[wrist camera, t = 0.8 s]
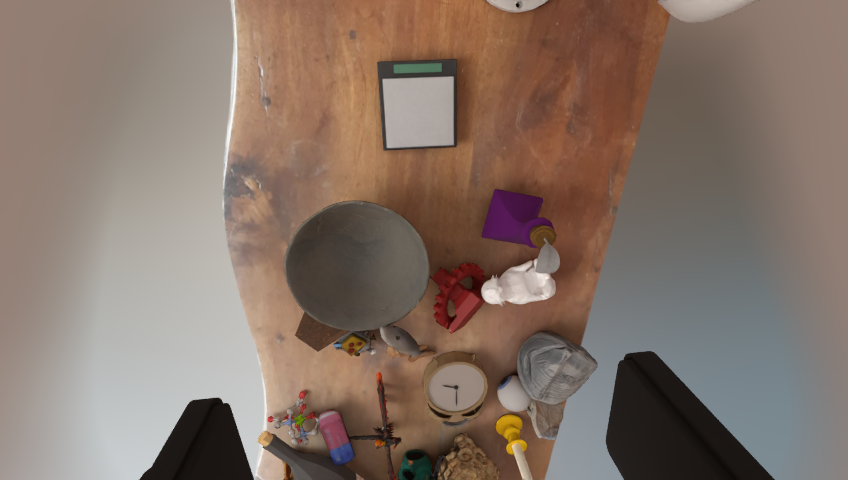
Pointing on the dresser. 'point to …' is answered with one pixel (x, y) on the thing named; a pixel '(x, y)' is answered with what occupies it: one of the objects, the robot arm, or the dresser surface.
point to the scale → (418, 104)
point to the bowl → (357, 266)
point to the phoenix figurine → (383, 430)
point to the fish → (402, 343)
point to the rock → (545, 418)
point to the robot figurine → (333, 337)
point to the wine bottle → (306, 461)
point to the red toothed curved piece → (458, 295)
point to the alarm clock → (455, 387)
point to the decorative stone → (553, 367)
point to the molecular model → (296, 420)
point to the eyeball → (513, 394)
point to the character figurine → (417, 466)
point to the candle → (514, 441)
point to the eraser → (336, 437)
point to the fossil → (466, 462)
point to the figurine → (287, 472)
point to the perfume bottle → (522, 226)
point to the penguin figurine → (519, 285)
